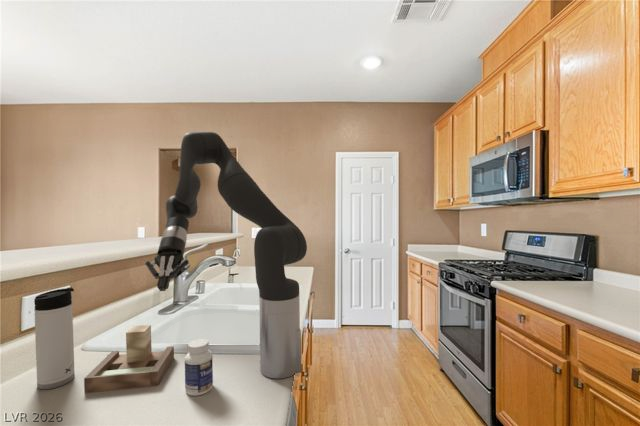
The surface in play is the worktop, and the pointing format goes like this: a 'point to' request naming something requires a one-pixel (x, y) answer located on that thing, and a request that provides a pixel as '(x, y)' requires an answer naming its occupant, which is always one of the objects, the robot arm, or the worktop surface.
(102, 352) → the worktop surface
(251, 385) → the worktop surface
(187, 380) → the pill bottle
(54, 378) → the travel mug
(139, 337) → the birch block
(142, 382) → the box
